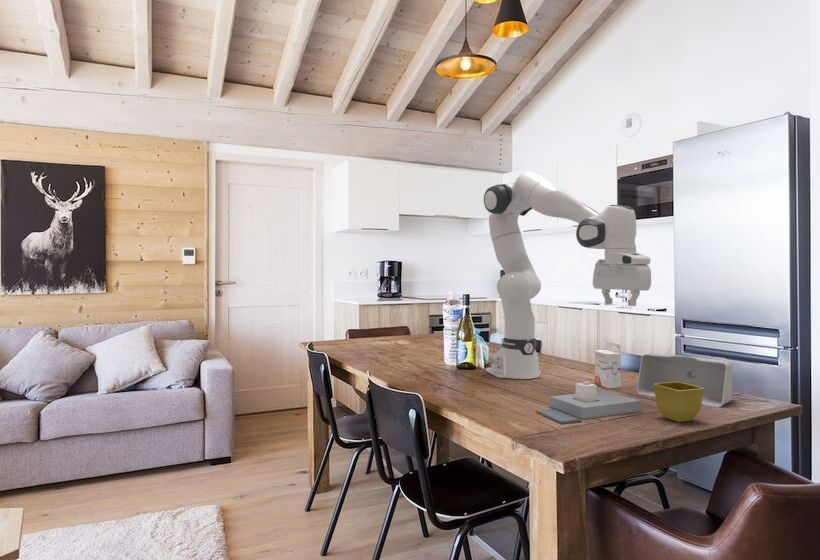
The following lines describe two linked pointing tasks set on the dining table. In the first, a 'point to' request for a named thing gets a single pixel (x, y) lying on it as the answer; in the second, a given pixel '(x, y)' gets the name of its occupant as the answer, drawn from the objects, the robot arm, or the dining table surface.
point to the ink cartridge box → (608, 366)
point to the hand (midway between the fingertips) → (620, 304)
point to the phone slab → (559, 416)
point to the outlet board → (595, 405)
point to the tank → (687, 375)
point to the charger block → (586, 392)
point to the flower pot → (678, 400)
